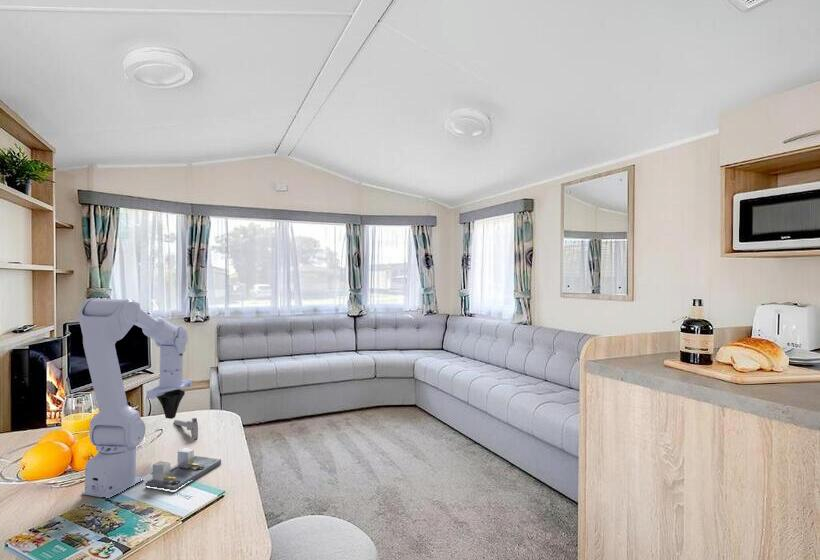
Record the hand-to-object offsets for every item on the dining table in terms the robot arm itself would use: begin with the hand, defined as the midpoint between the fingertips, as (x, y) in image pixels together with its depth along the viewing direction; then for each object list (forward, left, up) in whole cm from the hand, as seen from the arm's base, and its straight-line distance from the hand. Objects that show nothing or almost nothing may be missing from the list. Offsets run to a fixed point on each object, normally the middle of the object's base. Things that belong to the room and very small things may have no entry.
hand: (170, 417), depth 122 cm
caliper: (+15, +8, -10) cm, 20 cm away
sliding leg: (-9, -15, -8) cm, 19 cm away
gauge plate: (-11, -15, -9) cm, 21 cm away
